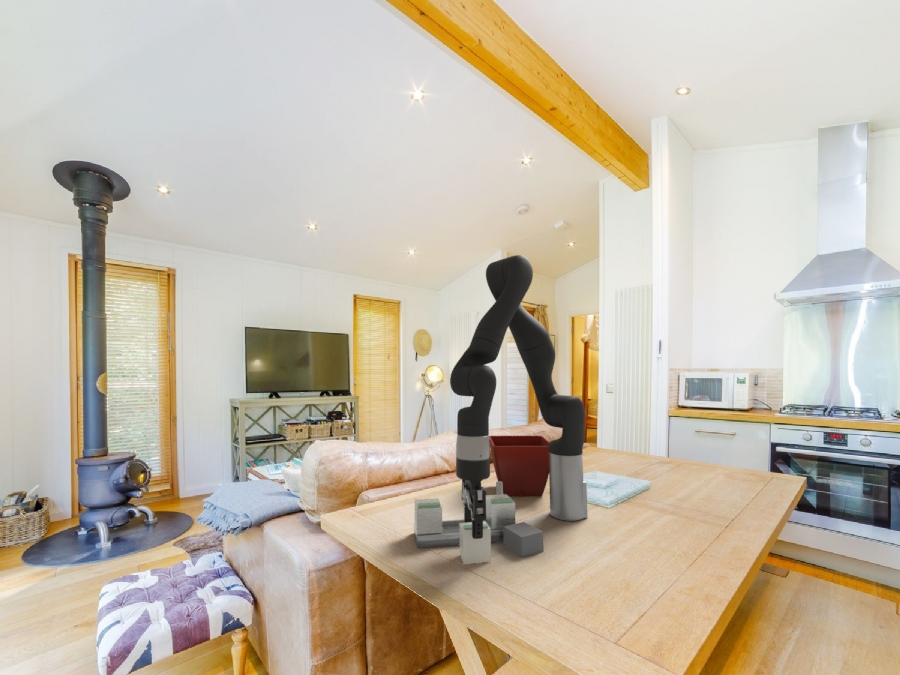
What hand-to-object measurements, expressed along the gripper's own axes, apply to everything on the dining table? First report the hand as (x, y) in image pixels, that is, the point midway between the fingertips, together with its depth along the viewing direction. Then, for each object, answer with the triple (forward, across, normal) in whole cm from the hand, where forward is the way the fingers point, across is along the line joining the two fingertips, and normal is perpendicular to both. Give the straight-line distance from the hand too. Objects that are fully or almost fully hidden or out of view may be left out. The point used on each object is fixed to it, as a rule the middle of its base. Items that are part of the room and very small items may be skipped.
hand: (473, 530), depth 92 cm
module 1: (+6, 0, 0) cm, 6 cm away
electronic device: (+6, +27, -11) cm, 30 cm away
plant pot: (+6, +45, -26) cm, 52 cm away
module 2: (+6, +3, -12) cm, 14 cm away
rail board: (+6, +12, 0) cm, 13 cm away
